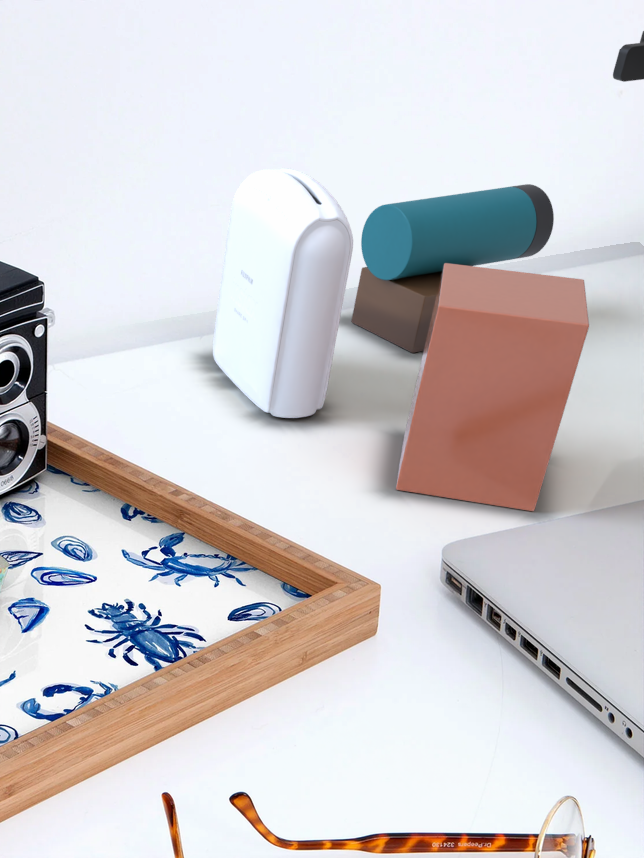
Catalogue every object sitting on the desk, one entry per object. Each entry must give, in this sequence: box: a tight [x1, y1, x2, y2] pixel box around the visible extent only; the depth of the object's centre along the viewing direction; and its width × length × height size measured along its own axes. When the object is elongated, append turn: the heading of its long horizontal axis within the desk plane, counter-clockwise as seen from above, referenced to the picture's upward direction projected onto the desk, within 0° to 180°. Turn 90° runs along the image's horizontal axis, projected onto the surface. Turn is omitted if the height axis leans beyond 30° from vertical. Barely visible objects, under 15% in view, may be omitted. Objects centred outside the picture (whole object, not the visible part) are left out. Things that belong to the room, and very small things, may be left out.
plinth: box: [395, 263, 590, 512], centre depth 76 cm, size 7×7×10 cm
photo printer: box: [212, 167, 354, 419], centre depth 85 cm, size 10×4×12 cm, turn 11°
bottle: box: [360, 183, 555, 280], centre depth 95 cm, size 12×5×5 cm, turn 117°
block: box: [350, 266, 442, 354], centre depth 96 cm, size 6×6×4 cm
